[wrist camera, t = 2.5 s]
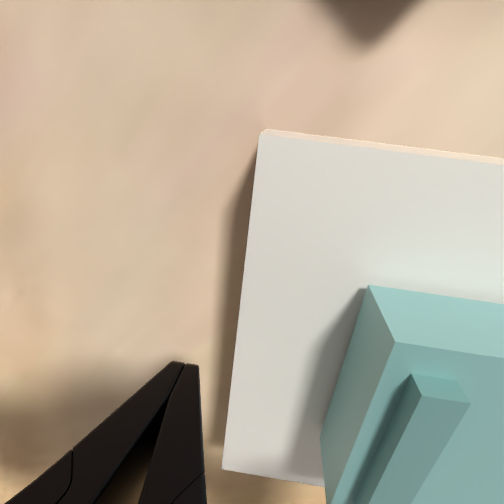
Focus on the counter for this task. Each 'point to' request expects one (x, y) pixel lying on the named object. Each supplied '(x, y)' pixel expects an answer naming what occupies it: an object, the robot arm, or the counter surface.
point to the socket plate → (344, 274)
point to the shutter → (418, 403)
